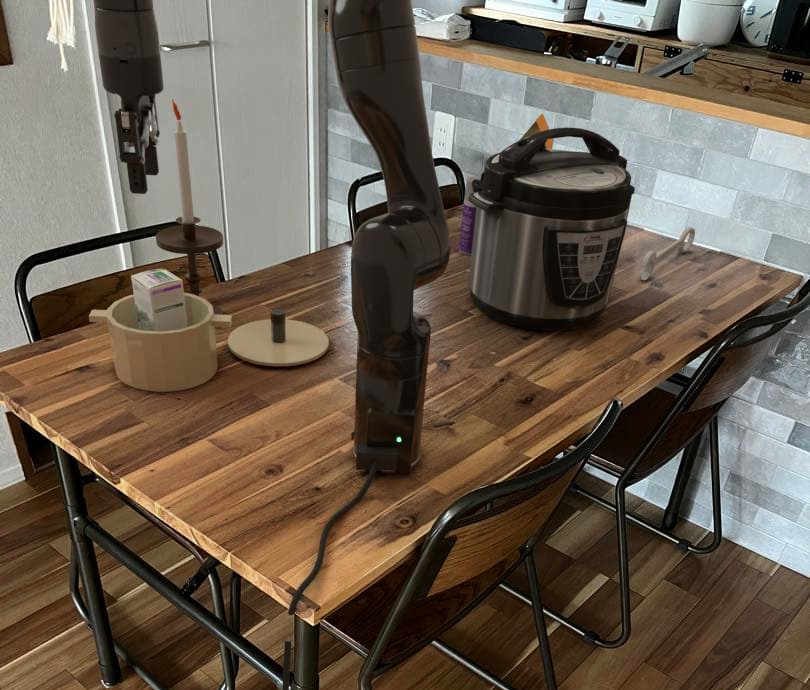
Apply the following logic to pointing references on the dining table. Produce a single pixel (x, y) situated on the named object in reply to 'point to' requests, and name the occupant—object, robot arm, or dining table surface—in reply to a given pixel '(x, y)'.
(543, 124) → the orange juice
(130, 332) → the pot
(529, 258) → the pressure cooker
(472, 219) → the container
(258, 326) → the lid
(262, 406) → the dining table surface
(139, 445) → the dining table surface
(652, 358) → the dining table surface
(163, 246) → the candlestick
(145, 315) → the syrup box
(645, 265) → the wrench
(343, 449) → the dining table surface
